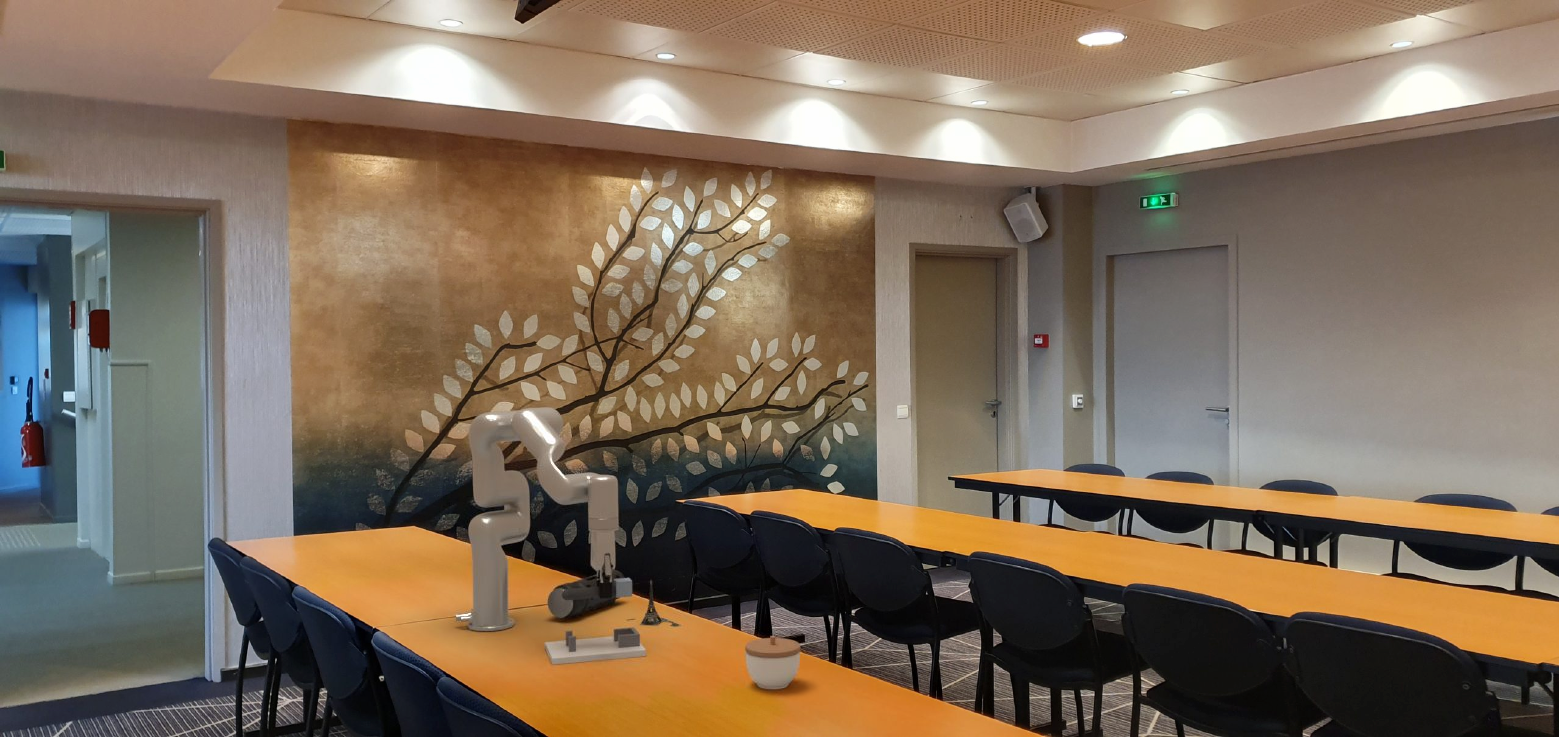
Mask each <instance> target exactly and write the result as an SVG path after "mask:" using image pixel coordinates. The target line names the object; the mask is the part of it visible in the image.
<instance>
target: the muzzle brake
mask: <svg viewBox="0 0 1559 737" xmlns="http://www.w3.org/2000/svg"><path fill="white" fill-rule="evenodd" d="M611 571H612V585H614V579H620V578H626V576H625V575H624V574H623V573H622V572H621V571H619V570H617V569H614V570H611ZM586 587H597V573H596V574H594V575H591V576H588V577H584V578H581V579H578V580H575V581H572V582H565V583H563V584H559V585H557V586H555V588H553V590H552V591H550V593H549V595H548V597H547V607H548V610H549V613H550V614H552V616H554V617H555V618H558V619H570V618H571V619H576V618H578V617H580V616H581V615H582V613H584V612H587V611H594V610H595V609H600V608H602V607H606V606H608V605H610V604H614V603H616V600H618V599H620V598H616V597H615V596H614V597H612V598H605V599H600V598H590V599H578V600H564V599H563V598H562V592H563V591H564V590H565V589H573V588H586Z"/></svg>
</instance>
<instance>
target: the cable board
mask: <svg viewBox="0 0 1559 737" xmlns="http://www.w3.org/2000/svg"><path fill="white" fill-rule="evenodd" d="M573 633H574V632H573V630H565V640H555V641H545V642H544V649H545V651H546V653H547V656H548V658H549V661H550V663H551V665H553V666H554V665H565V664H574V663H587V662H588V663H589V662H596V661H597V662H598V661H608V660H609V661H610V660H617V659H629V658H639V657H647V650H646V648H645V647H644V646H643V644H642V643H641V635H640V633H639V631H638V630H637V629H636V628H635V627H634V626H632V627H619V628H613V636H603V637H601V636H600V637H590V638H589V637H588V638H578V639H577V636H576V635H573Z"/></svg>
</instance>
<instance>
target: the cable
mask: <svg viewBox="0 0 1559 737" xmlns="http://www.w3.org/2000/svg"><path fill="white" fill-rule="evenodd" d="M614 596H615V597H616V598H619V599H620V598H629V597H631V598H632V597H633V580H632V579H631V578H630V577H625V578H620V579H614V585H612V597H614ZM562 598H563V599H564V600H578V599H590V598H599V586H598V587H586V588H573V589H565V590H564V591H563V592H562Z"/></svg>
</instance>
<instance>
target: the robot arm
mask: <svg viewBox="0 0 1559 737" xmlns="http://www.w3.org/2000/svg"><path fill="white" fill-rule="evenodd" d="M563 428H564V419H563V417H562V415H561V414H560V412H558V410H556V409H555V408H554V407H550V406H549V407H547V406H546V407H545V406H544V407H543V406H542V407H527V408H523V409H520V410H500V411H497V410H496V411H490V412H489V411H488V412H485V413H481V414H478V415H477V416H476V417H475V418H473V420H472V421H471V423H470V425H469V429H468V441H469V442H468V443H469V447H470V452H471V457H472V458H471V459H472V460H471V461H472V487H473V488H472V490H473V499H474V501H475V503H476V505H477V506H478V507H482V508H494V507H502V506H504V507H503V508H504V509H503V510H501V509H500V510H494V511H487V512H484V513H480V514H477V515H476V516H474V517H473V518H472V519H470V521H469V522H470V523H469V525H468V537H469V542H470V548H471V555H472V608H471V611H468V612H467V613H455V622H461V623H462V622H467V628H468V630H470V631H476V632H494V631H495V632H496V631H501V630H506V629H510V628H513V627H514V625H515V619H513V618H512V617H509V614H510V613H509V561H508V557H507V555H506V553H505V551H504V550H503V548H502V546H504V545H508V544H514V543H518V542H522V541H524V540H525V539H526V538H527V537H528V535H529V533H530V528H531V515H530V513H531V509H530V486H529V483H528V480H527V478H526V477H525V475H524V474H523V473H522V472H521V471H518V470H506V469H505V457H504V454H503V451H502V449H501V448H500V446H499V445H498V443H505V442H506V443H507V442H510V443H511V442H517V441H520V442H521V443H522V444H523V446H524V447H526V449H527V450H528V452H530V454H531V455H532V456H533V457H534V459H535V460H536V461H537V463H536V474H537V479H538V482H539V484H540V486H541V487H542V489H543V490H544V491H545V493H546V494H547V495H548V496H549V497H550V498H551V499H552V500H553V501H554V502H556V503H557V504H560V505H563V506H567V505H573V504H574V505H575V504H580V503H582V504H583V503H587V507H588V508H587V511H588V512H587V514H588V531H589V532H591V540H590V566H591V567H592V569H594V570H595V571H596V574H597V587H598V586H599V598H600V599H605V598H612V571H611V570H616V569H615V568H616V537H615V535H616V534H615V533H616V531H619V527H620V526H619V482H618V478H617V477H616V476H614V475H613V474H612V475H610V474H600V473H599V474H598V473H596V472H591V471H590V472H581V473H580V472H579V473H572V474H571V473H570V474H564V473H562V471H561V470H560V469H559V468H558V466H556V464H555V463H556V462H557V461H559V460H560V459H561V457H562V456H563V454H564V453H565V450H566V443H565V441H564V439H563V438H561V437H560V434H561V433H562V431H563Z"/></svg>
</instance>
